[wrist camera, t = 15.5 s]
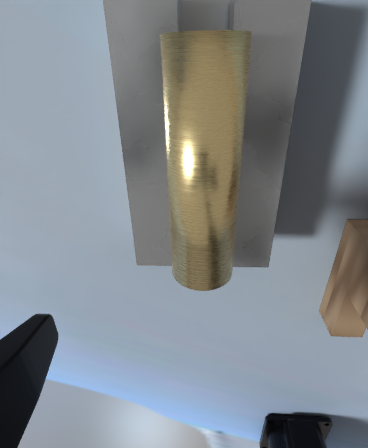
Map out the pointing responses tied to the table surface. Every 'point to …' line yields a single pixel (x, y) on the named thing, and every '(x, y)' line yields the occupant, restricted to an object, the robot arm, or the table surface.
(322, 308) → the brown notched block
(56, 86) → the table surface
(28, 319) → the robot arm
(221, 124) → the axle
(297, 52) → the v block
